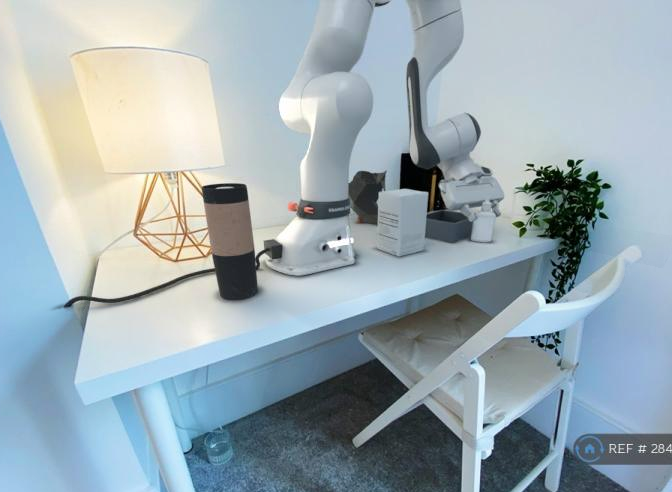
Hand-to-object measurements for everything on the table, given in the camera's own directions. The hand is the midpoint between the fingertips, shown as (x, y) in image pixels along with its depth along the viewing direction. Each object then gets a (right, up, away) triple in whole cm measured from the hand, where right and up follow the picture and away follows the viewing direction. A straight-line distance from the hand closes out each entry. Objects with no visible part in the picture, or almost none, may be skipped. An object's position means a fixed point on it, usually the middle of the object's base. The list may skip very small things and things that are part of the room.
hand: (486, 218), depth 93 cm
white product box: (-25, -9, -4) cm, 26 cm away
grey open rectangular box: (-8, -3, +11) cm, 13 cm away
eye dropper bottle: (0, -6, +3) cm, 7 cm away
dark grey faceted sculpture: (-30, +4, +26) cm, 40 cm away
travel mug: (-60, -20, -27) cm, 69 cm away
